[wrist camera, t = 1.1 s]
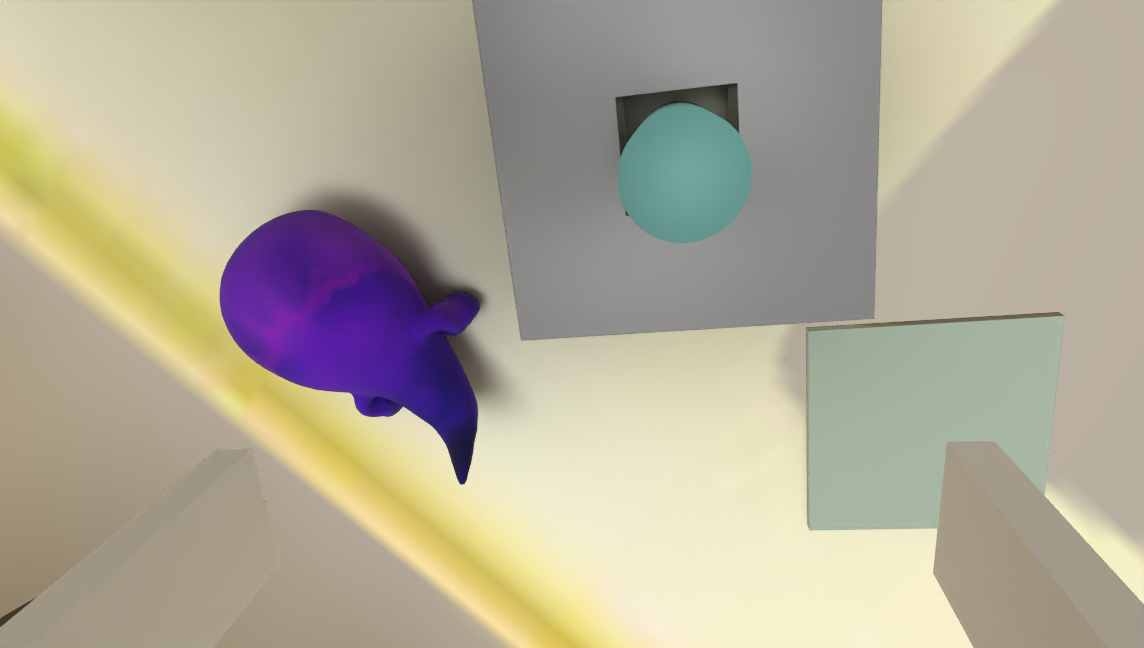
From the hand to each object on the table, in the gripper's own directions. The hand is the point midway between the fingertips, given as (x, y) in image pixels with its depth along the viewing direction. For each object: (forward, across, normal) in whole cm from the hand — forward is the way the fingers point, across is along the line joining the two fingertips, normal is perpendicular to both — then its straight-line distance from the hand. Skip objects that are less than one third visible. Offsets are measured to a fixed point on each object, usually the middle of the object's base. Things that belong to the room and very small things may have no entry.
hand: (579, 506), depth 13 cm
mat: (+24, +15, -11) cm, 30 cm away
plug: (+24, +2, +5) cm, 25 cm away
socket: (+24, +2, +5) cm, 25 cm away
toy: (+24, -13, -4) cm, 28 cm away
